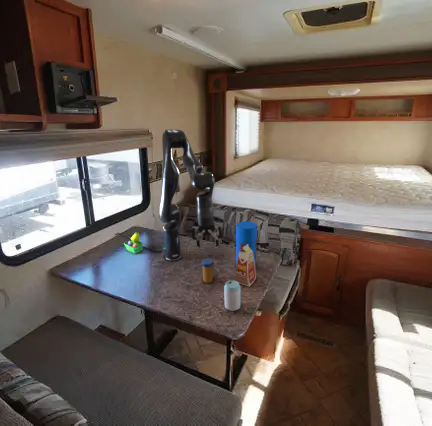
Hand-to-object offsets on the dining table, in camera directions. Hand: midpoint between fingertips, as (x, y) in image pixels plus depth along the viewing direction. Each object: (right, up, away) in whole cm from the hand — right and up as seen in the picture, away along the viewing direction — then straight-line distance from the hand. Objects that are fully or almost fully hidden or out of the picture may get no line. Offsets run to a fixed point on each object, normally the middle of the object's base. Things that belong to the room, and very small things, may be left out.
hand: (207, 246), depth 138 cm
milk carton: (+19, -19, +8) cm, 28 cm away
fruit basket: (-47, -8, +44) cm, 65 cm away
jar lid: (0, -9, +6) cm, 10 cm away
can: (+11, -26, -11) cm, 30 cm away
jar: (0, -19, +9) cm, 21 cm away
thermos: (+21, -14, +21) cm, 33 cm away
